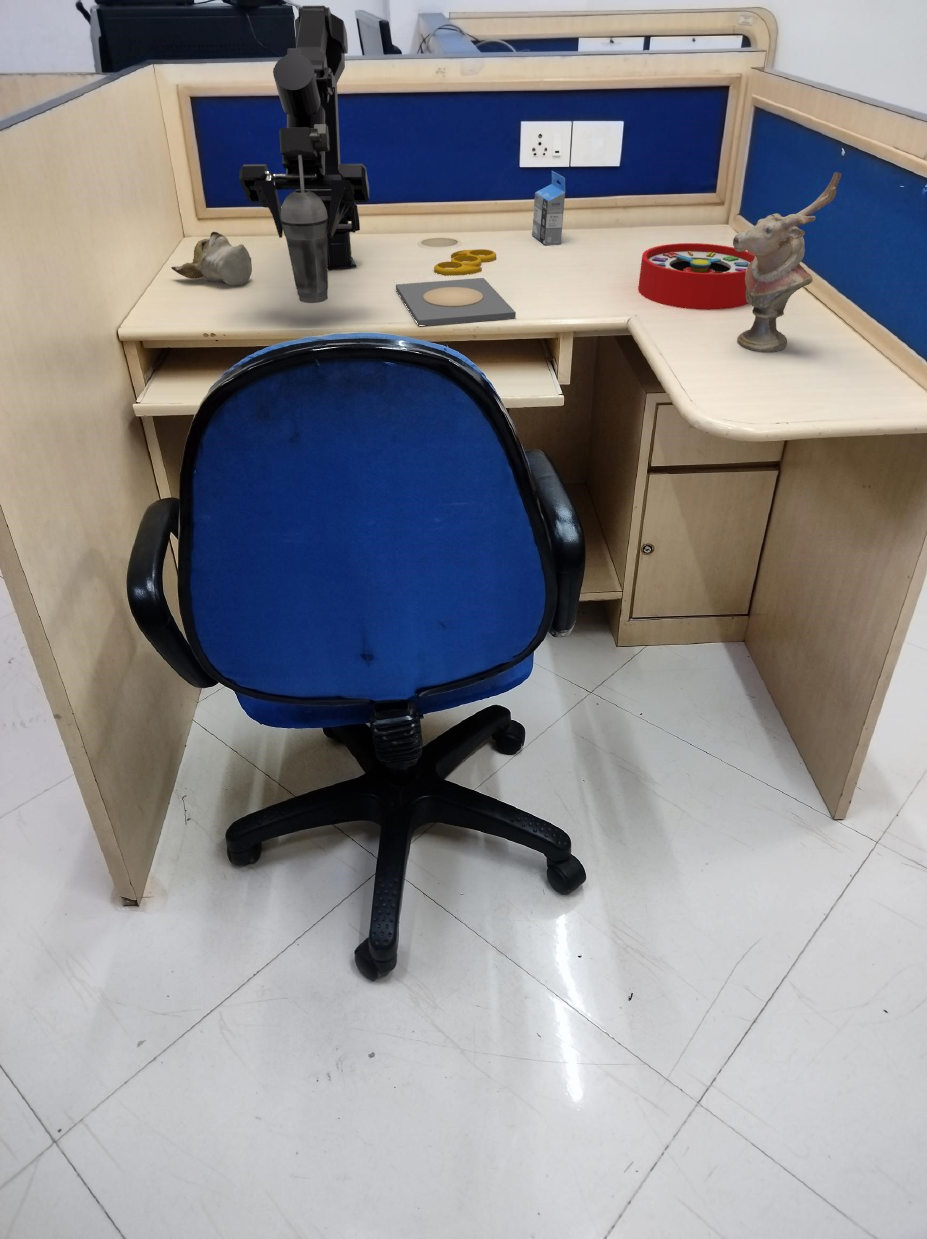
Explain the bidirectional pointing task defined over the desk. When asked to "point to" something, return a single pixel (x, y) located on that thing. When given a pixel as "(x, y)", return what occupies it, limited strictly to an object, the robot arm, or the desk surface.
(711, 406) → the desk surface
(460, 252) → the yellow joined rings
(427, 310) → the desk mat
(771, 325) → the decorative bust
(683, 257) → the toy clock
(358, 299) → the desk surface
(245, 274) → the ceramic sculpture
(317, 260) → the beverage cup
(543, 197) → the label tape box
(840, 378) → the desk surface
